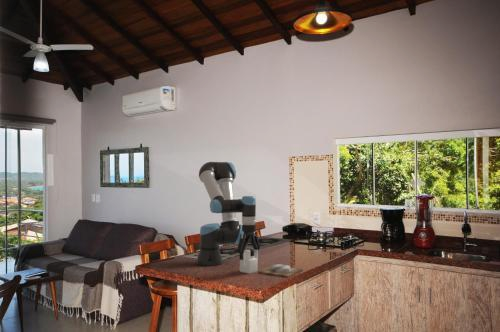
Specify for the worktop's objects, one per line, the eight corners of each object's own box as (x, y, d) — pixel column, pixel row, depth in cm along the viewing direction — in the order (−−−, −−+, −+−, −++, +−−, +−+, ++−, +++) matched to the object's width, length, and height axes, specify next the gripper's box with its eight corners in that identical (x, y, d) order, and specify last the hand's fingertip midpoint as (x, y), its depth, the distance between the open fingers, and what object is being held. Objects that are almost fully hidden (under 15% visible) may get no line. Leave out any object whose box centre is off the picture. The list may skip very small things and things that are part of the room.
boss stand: (258, 273, 197) (258, 267, 197) (274, 266, 212) (274, 261, 213) (288, 277, 188) (288, 271, 188) (302, 270, 203) (302, 265, 203)
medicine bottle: (247, 269, 205) (247, 247, 206) (257, 271, 201) (257, 249, 201) (239, 271, 200) (239, 249, 200) (249, 273, 195) (249, 251, 196)
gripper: (242, 226, 189) (242, 268, 188) (266, 222, 210) (266, 260, 209) (230, 225, 193) (230, 266, 192) (254, 222, 214) (254, 259, 213)
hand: (249, 263), depth 200 cm, fingers open, 13 cm apart
